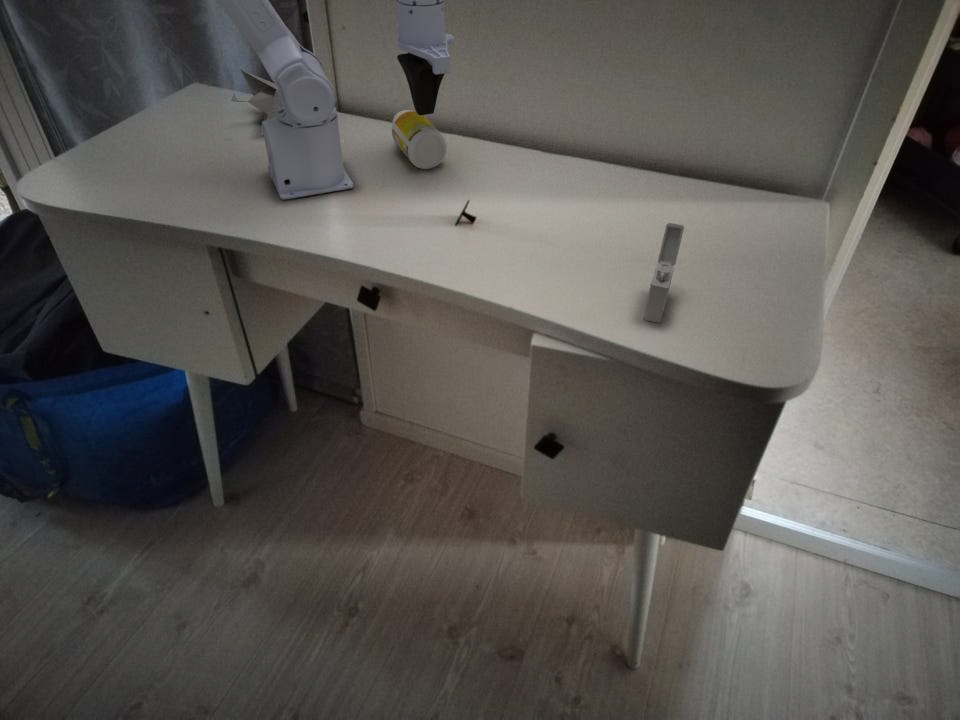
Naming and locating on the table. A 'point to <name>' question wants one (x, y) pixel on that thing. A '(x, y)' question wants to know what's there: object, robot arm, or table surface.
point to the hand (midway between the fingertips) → (424, 112)
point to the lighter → (663, 273)
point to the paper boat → (262, 95)
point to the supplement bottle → (418, 139)
